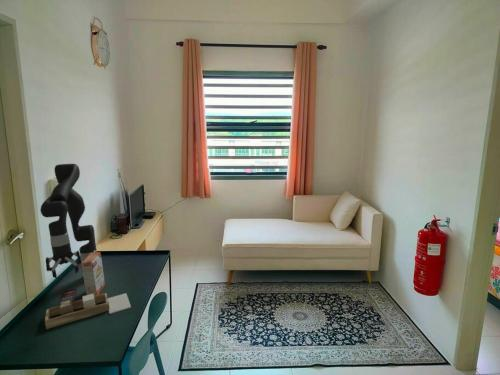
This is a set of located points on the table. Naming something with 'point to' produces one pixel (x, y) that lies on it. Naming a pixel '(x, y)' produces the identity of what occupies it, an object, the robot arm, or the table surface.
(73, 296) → the smartphone
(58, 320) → the bin
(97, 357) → the table surface
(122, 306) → the pad
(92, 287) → the cracker box
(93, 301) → the cream block
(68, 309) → the walnut block
